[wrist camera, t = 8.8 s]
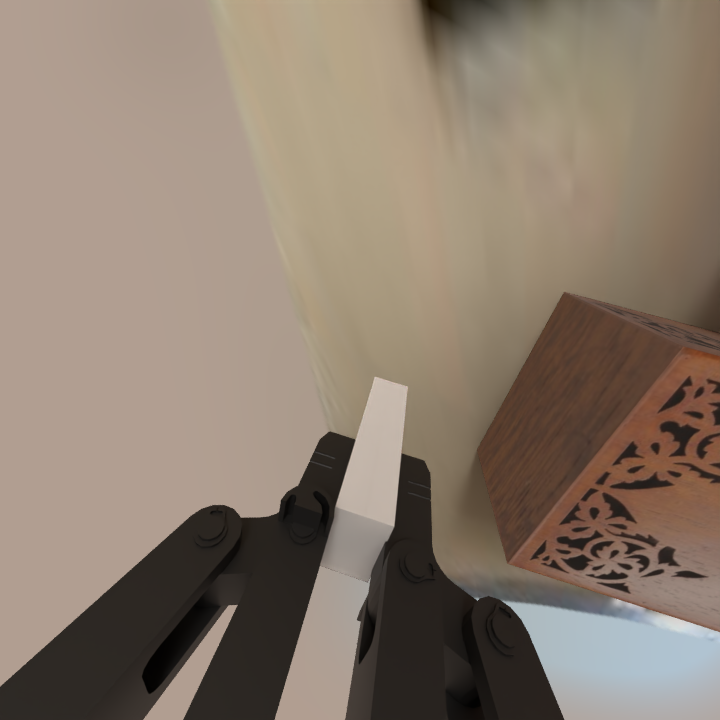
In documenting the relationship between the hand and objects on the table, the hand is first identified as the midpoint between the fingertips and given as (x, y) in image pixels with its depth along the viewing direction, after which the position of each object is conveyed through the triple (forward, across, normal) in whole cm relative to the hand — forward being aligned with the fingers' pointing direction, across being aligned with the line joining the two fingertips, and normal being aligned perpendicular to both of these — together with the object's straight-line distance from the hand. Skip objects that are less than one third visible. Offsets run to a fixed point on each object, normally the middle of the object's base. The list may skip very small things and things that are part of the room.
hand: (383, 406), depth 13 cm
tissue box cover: (+11, +23, -2) cm, 25 cm away
